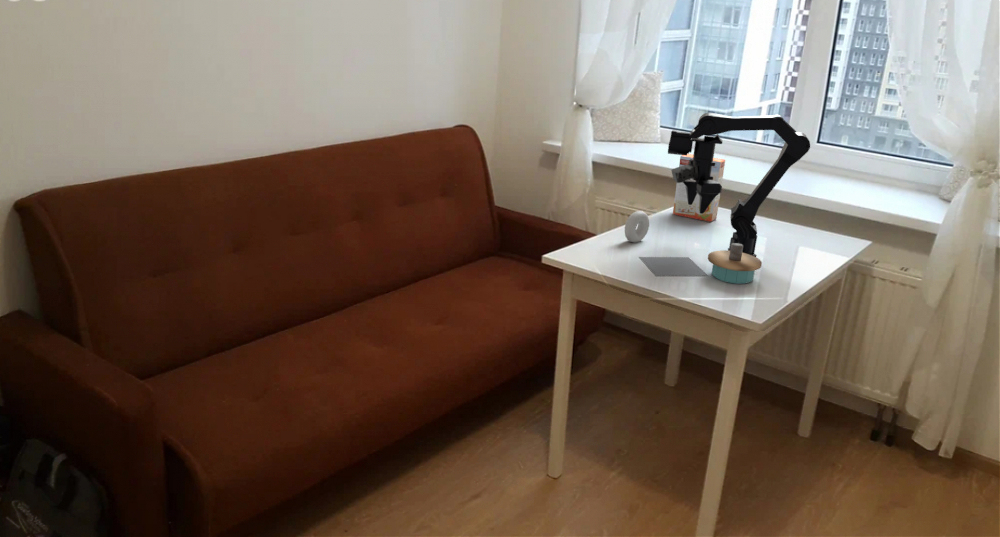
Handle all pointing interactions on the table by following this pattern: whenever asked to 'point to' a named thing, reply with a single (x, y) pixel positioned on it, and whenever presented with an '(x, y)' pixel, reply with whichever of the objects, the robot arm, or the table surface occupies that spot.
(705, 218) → the cracker box
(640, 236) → the donut
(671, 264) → the mat
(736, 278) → the bowl
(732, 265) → the lid
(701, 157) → the robot arm
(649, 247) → the table surface
